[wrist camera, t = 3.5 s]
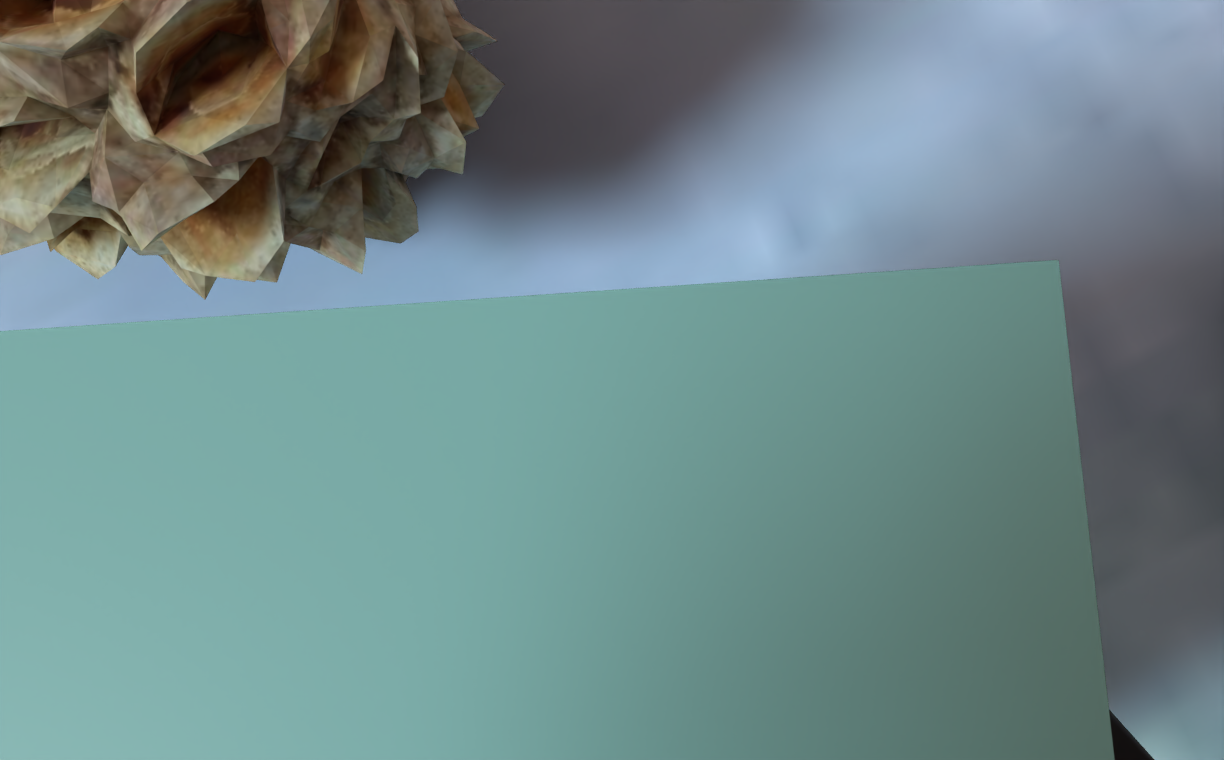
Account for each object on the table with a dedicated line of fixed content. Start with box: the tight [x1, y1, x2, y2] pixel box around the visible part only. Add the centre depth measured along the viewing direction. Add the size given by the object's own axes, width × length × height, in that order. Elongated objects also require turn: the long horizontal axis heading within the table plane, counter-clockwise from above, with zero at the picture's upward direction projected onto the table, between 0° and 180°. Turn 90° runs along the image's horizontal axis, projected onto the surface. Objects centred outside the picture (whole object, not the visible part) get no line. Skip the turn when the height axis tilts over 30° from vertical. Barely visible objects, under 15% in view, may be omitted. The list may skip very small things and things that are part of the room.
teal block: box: [0, 260, 1115, 760], centre depth 10 cm, size 6×6×12 cm
